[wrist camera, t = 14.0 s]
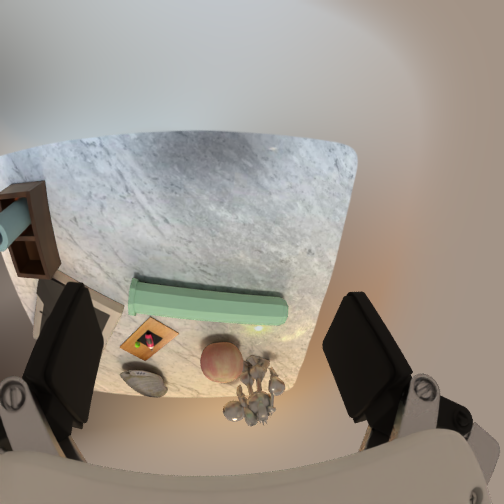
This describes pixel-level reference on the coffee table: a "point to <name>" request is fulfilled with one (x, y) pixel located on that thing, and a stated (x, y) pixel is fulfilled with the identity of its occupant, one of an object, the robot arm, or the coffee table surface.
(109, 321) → the picture frame
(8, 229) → the bottle
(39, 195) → the holder
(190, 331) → the coffee table surface
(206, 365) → the apple
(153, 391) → the seashell
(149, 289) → the container
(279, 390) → the robot toy
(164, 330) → the board
